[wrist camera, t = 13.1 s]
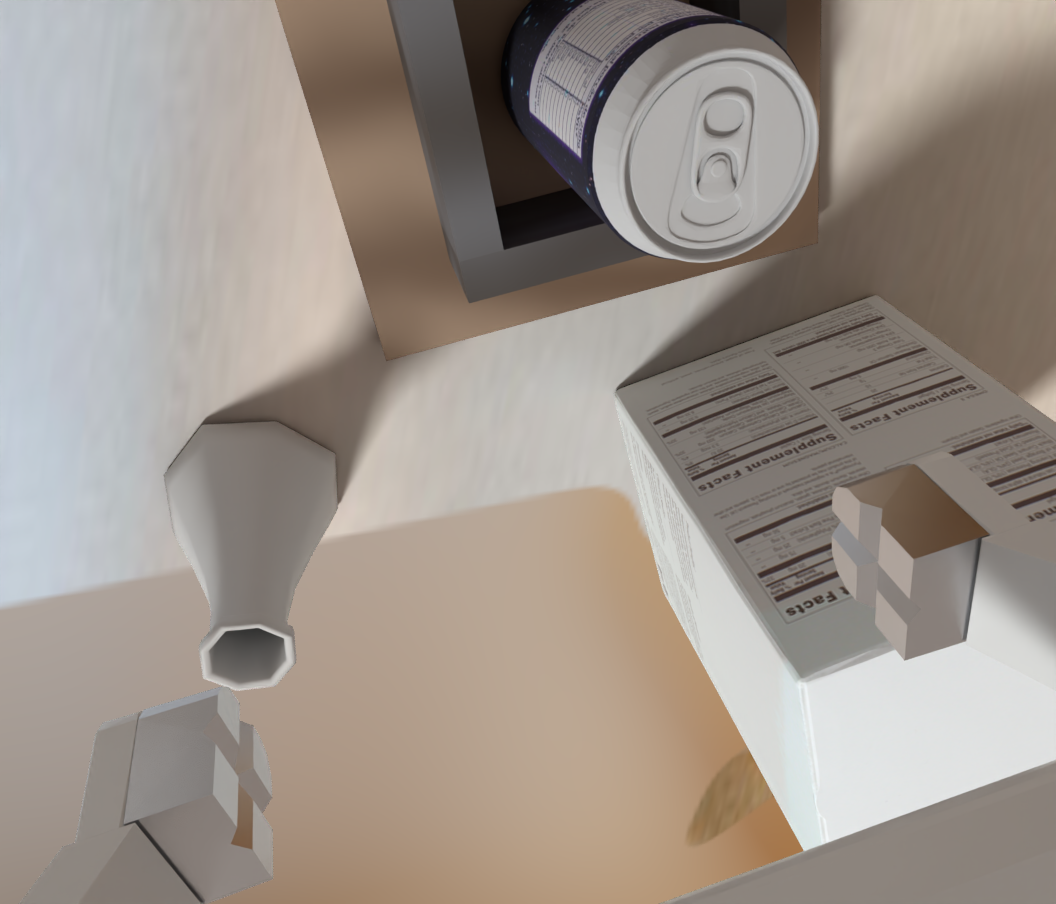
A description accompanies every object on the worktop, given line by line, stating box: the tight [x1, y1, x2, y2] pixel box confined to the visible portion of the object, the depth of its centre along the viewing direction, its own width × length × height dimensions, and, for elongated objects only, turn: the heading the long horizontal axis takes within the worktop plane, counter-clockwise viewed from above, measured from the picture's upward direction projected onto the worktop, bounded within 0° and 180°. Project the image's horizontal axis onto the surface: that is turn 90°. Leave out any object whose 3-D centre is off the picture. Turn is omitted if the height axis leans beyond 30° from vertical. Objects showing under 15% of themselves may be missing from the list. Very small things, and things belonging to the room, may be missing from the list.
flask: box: [164, 421, 338, 691], centre depth 34 cm, size 7×7×10 cm
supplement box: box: [615, 295, 1056, 851], centre depth 36 cm, size 13×13×18 cm
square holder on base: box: [275, 0, 821, 361], centre depth 29 cm, size 18×18×6 cm
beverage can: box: [501, 0, 819, 263], centre depth 25 cm, size 6×6×12 cm
